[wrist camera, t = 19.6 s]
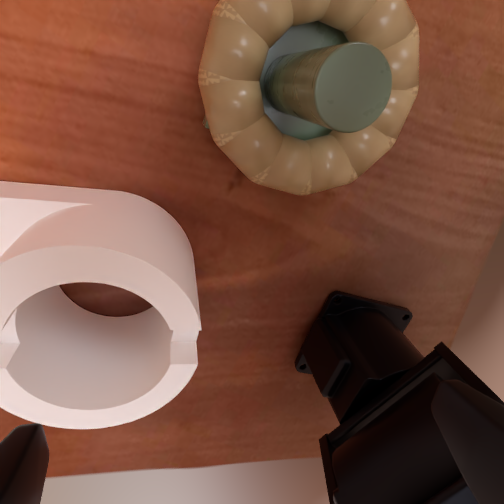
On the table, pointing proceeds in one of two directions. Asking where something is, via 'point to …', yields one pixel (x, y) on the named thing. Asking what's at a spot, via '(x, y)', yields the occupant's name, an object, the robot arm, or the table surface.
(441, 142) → the table surface
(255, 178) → the segmented ring
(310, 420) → the table surface
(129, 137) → the table surface
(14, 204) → the bracket
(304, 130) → the stand
